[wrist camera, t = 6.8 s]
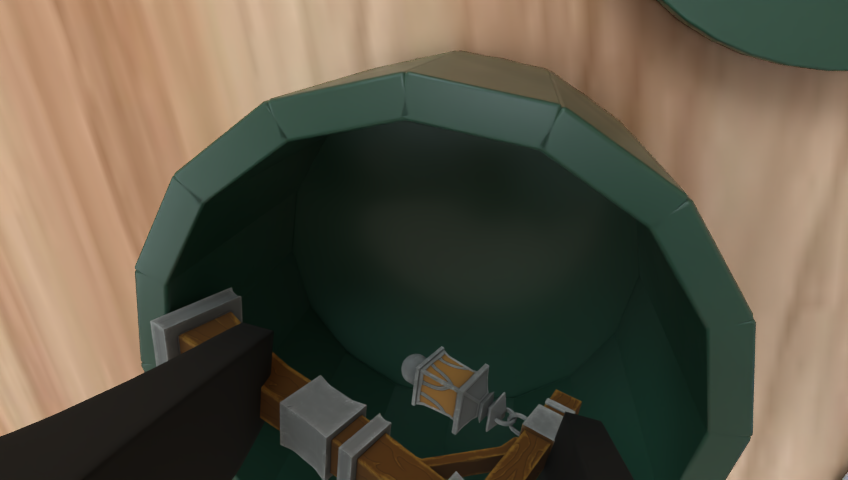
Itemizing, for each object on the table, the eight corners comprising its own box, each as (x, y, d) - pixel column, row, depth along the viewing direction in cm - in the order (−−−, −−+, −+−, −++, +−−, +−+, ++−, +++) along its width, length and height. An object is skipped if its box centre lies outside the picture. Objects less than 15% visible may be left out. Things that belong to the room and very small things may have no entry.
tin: (733, 106, 12) (914, 181, 7) (586, 444, 17) (615, 661, 11) (293, 13, 14) (114, 7, 8) (270, 355, 18) (149, 510, 12)
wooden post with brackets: (611, 470, 10) (510, 700, 6) (315, 312, 14) (149, 400, 10) (637, 397, 9) (539, 611, 6) (316, 252, 13) (139, 324, 9)
